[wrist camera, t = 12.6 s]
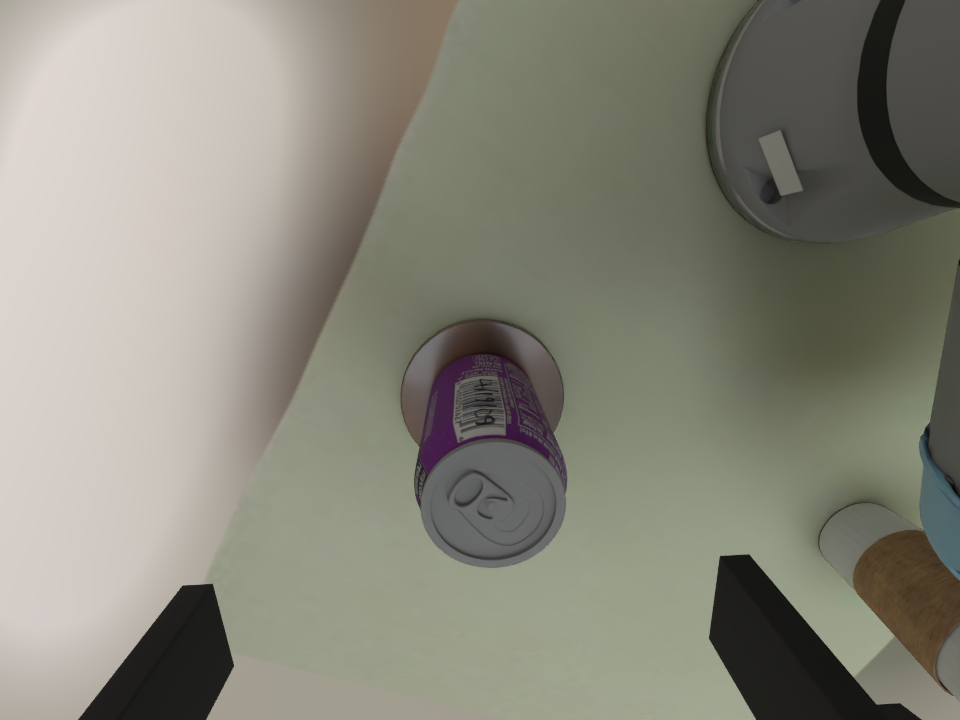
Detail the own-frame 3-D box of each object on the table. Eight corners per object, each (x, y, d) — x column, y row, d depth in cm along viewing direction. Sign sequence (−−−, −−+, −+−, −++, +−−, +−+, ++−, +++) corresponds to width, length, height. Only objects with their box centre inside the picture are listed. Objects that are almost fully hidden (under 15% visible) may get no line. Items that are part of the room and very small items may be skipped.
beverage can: (409, 414, 31) (377, 528, 19) (468, 329, 29) (472, 399, 18) (494, 466, 32) (511, 601, 21) (555, 388, 31) (611, 487, 19)
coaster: (564, 316, 30) (566, 318, 29) (559, 466, 33) (561, 470, 33) (395, 321, 30) (394, 323, 29) (407, 471, 33) (406, 476, 32)
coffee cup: (926, 540, 36) (1232, 748, 22) (831, 596, 37) (1059, 828, 23) (883, 467, 34) (1188, 645, 20) (783, 529, 35) (1002, 739, 21)
